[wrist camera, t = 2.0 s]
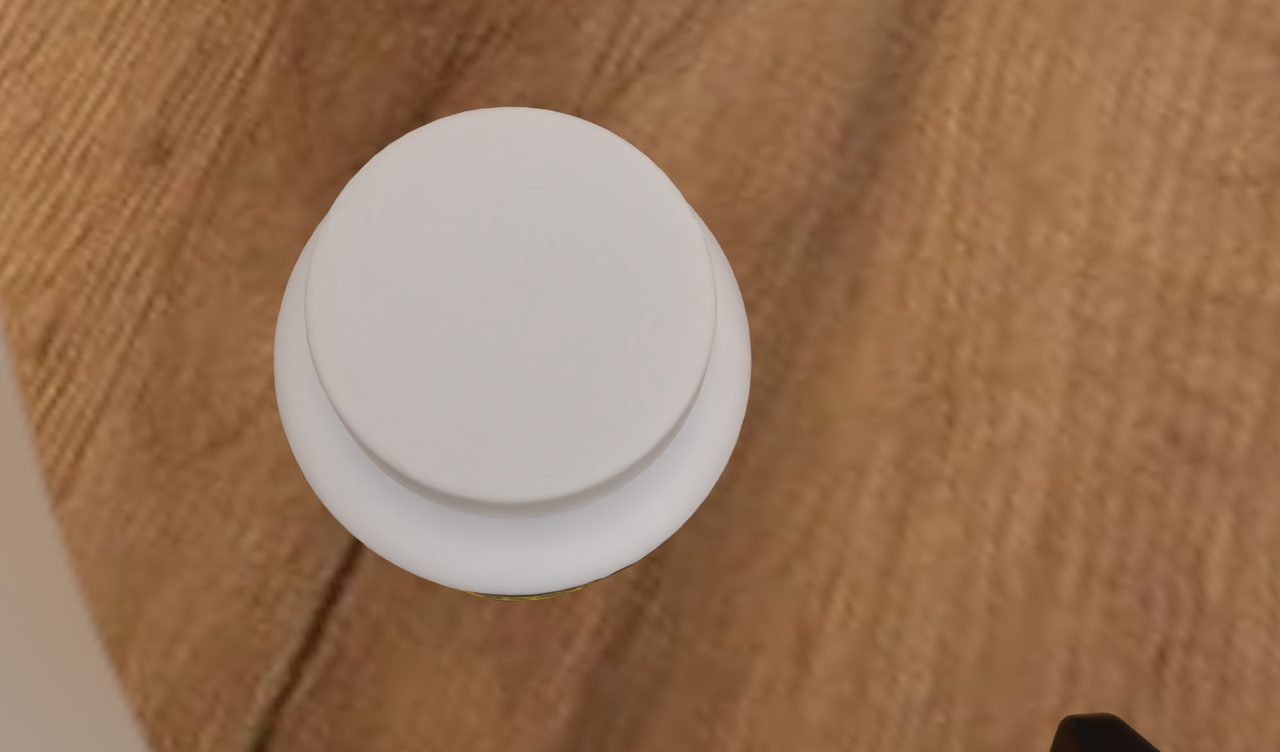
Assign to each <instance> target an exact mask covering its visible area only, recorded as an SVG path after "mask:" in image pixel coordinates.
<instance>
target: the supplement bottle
mask: <svg viewBox="0 0 1280 752" xmlns="http://www.w3.org/2000/svg"><path fill="white" fill-rule="evenodd" d="M274 379H275V392H276V398H277V404H278V408H279V413H280V418H281V421H282V425H283V428H284V431H285V434H286V436H287V439H288V442H289V445H290V448H291V450H292V452H293V454H294V456H295V459H296V461H297V463H298V464H299V466H300V468H301V470H302V472H303V474H304V476H305V478H306V480H307V481H308V483H309V484H310V486H311V487H312V489H313V490H314V492H315V493H316V495H317V496H318V498H319V499H320V500H321V502H322V503H323V504H324V505H325V506H326V508H327V509H328V510H329V511H330V512H331V514H332V515H333V516H334V517H335V518H336V519H337V520H338V521H339V522H340V523H341V524H342V525H343V526H344V527H345V528H346V529H347V530H348V531H349V532H350V533H351V534H352V535H354V536H355V537H356V538H357V539H359V540H360V541H361V542H362V543H363V544H365V545H366V546H367V547H368V548H370V549H371V550H372V551H374V552H375V553H377V554H378V555H379V556H381V557H383V558H385V559H386V560H388V561H390V562H391V563H393V564H395V565H396V566H398V567H400V568H402V569H404V570H406V571H408V572H410V573H412V574H414V575H416V576H419V577H421V578H424V579H426V580H429V581H431V582H434V583H437V584H440V585H443V586H445V587H448V588H452V589H455V590H459V591H462V592H465V593H468V594H472V595H475V596H479V597H484V598H488V599H492V600H498V601H534V600H541V599H548V598H553V597H557V596H561V595H564V594H568V593H572V592H574V591H577V590H579V589H582V588H584V587H586V586H588V585H591V584H593V583H594V582H596V581H599V580H601V579H604V578H606V577H608V576H610V575H612V574H615V573H617V572H619V571H621V570H623V569H625V568H627V567H629V566H631V565H633V564H634V563H636V562H638V561H639V560H641V559H643V558H644V557H645V556H647V555H648V554H649V553H651V552H652V551H653V550H655V549H656V548H658V547H659V546H661V545H662V544H663V543H665V542H666V541H667V540H668V538H669V537H670V536H671V535H672V534H674V533H675V532H676V531H677V530H678V529H680V527H681V526H682V525H683V524H684V523H685V522H686V521H687V520H688V519H689V518H690V517H691V516H692V514H693V513H694V512H695V511H696V509H697V508H698V507H699V506H700V505H701V503H702V502H703V501H704V500H705V499H706V497H707V496H708V494H709V493H710V491H711V490H712V488H713V487H714V485H715V483H716V482H717V480H718V479H719V477H720V475H721V474H722V472H723V470H724V468H725V466H726V464H727V463H728V460H729V458H730V456H731V454H732V451H733V449H734V447H735V444H736V442H737V439H738V436H739V432H740V429H741V426H742V423H743V419H744V416H745V412H746V407H747V402H748V397H749V389H750V380H751V347H750V335H749V326H748V320H747V316H746V311H745V307H744V303H743V299H742V296H741V293H740V290H739V287H738V284H737V281H736V279H735V276H734V274H733V271H732V269H731V266H730V264H729V262H728V260H727V258H726V257H725V255H724V253H723V251H722V249H721V247H720V245H719V244H718V242H717V240H716V239H715V237H714V236H713V234H712V233H711V231H710V230H709V229H708V227H707V226H706V224H705V223H704V222H703V220H702V219H701V218H700V217H699V215H698V214H697V213H696V212H695V211H694V209H693V208H692V207H691V206H690V205H689V204H688V203H687V202H686V200H685V199H684V197H683V196H682V194H681V193H680V191H679V190H678V189H677V188H676V186H675V185H674V184H673V183H672V181H671V180H670V179H669V178H668V177H667V175H666V174H665V173H664V172H663V171H662V170H661V169H660V168H659V167H658V166H657V165H656V164H655V163H654V162H653V161H651V160H650V159H649V158H648V157H647V156H646V155H645V154H643V153H642V152H641V151H639V150H638V149H637V148H635V147H634V146H633V145H631V144H630V143H628V142H627V141H625V140H624V139H622V138H621V137H619V136H617V135H616V134H614V133H612V132H610V131H609V130H607V129H605V128H602V127H600V126H598V125H596V124H593V123H591V122H589V121H586V120H583V119H580V118H577V117H574V116H571V115H567V114H563V113H559V112H555V111H550V110H545V109H536V108H527V107H497V108H486V109H477V110H471V111H465V112H462V113H458V114H455V115H451V116H448V117H444V118H441V119H438V120H436V121H433V122H431V123H429V124H427V125H425V126H422V127H420V128H418V129H416V130H413V131H411V132H409V133H407V134H406V135H404V136H403V137H401V138H400V139H398V140H396V141H394V142H393V143H391V144H389V145H388V146H387V147H386V148H385V149H383V150H382V151H381V152H379V153H378V154H376V155H375V156H374V157H373V158H372V159H371V160H370V161H369V162H368V163H367V164H366V165H365V166H364V167H363V168H362V169H361V170H360V171H359V172H358V173H357V174H356V175H355V176H354V177H353V178H352V179H351V180H350V181H349V182H348V184H347V185H346V186H345V188H344V189H343V190H342V192H341V193H340V194H339V196H338V197H337V199H336V200H335V202H334V204H333V205H332V207H331V209H330V210H329V212H328V214H327V215H326V216H325V217H324V219H323V220H322V221H321V222H320V224H319V225H318V226H317V228H316V230H315V231H314V233H313V234H312V236H311V238H310V239H309V241H308V242H307V244H306V246H305V247H304V249H303V251H302V252H301V254H300V256H299V259H298V261H297V263H296V265H295V267H294V269H293V271H292V274H291V276H290V278H289V281H288V284H287V287H286V290H285V293H284V296H283V299H282V303H281V307H280V311H279V315H278V319H277V325H276V333H275V341H274Z"/></svg>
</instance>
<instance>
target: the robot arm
mask: <svg viewBox="0 0 1280 752" xmlns="http://www.w3.org/2000/svg"><path fill="white" fill-rule="evenodd" d="M1049 752H1160V751H1159V750H1158V749H1156V748H1155V747H1154V746H1153V745H1152V744H1151V743H1149V742H1148V741H1147V740H1146V739H1145V738H1143V737H1142V736H1141V735H1140V734H1139V733H1137V732H1136V731H1135V730H1134V729H1133V728H1131V727H1130V726H1129V725H1128V724H1127V723H1126V722H1124V721H1123V720H1122V719H1120V718H1118V717H1117V716H1115V715H1113V714H1110V713H1090V714H1076V715H1069V716H1066V717H1065V718H1064V719H1063V720H1062V721H1061V722H1060V723H1059V726H1058V728H1057V731H1056V734H1055V737H1054V740H1053V743H1052V745H1051V748H1050V751H1049Z"/></svg>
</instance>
